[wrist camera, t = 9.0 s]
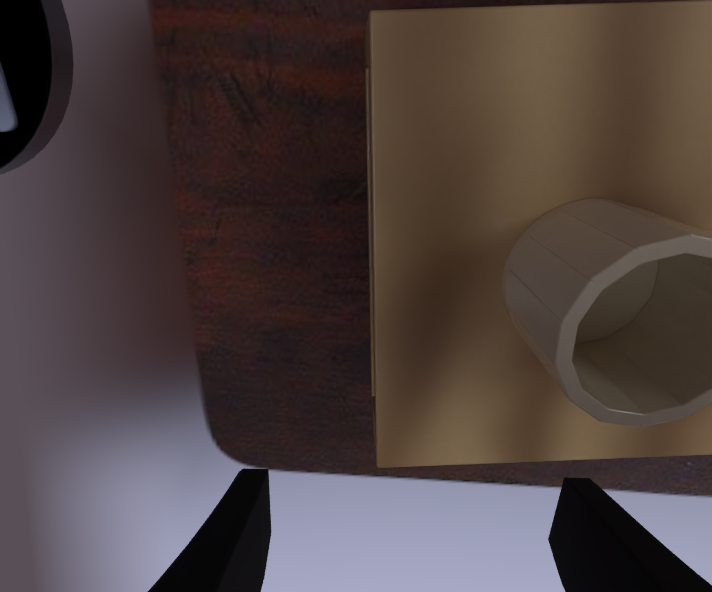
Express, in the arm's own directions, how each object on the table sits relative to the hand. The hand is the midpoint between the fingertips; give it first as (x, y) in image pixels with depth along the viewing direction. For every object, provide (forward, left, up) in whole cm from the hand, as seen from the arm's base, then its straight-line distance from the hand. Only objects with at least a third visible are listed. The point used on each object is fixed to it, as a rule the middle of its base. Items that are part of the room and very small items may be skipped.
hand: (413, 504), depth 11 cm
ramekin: (+6, +3, -6) cm, 9 cm away
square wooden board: (+6, +3, -10) cm, 12 cm away
